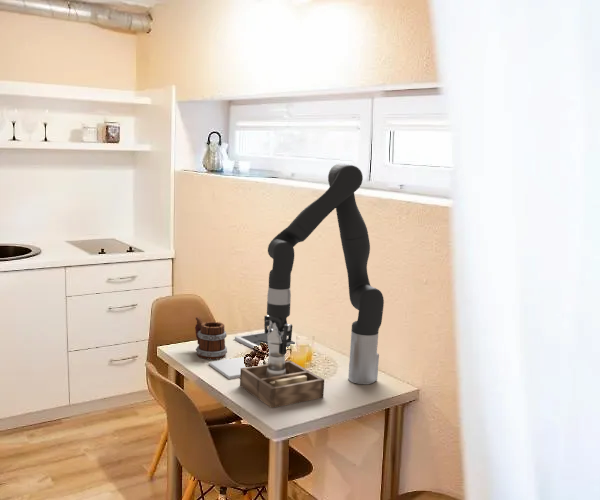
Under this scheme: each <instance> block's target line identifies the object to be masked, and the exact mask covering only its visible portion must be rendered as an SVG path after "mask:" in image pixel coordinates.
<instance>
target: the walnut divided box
mask: <svg viewBox="0 0 600 500" xmlns="http://www.w3.org/2000/svg"><path fill="white" fill-rule="evenodd" d="M267 368H268V363H266V364H262V365H259V366H252V367H246V368H241V373H240V377H239V378H240V379H239V386H240V387H241V388H243V390H245V391H247V392H248V393H250V394H251V395H252V396H254V398H257V399H258V400H260V401H261V402H262V403H264V404H266V405H267V406H268V407H269V408H271V409H274V408H278V407H283V406H284V407H285V406H288V405H293V404H299V403H303V402H308V401H313V400H314V401H315V400H318V399H323V398H324V392H325V391H324V390H325V379H324V378H322V377H321V376H319V375H317V374H315V373H313V372H311V371H310V370H308V369H306V368H305V367H303V366H301V365H299V364H297V363H296V362H294V361H292V360H285V370H286V375H280V376H274V377H268V378H267V377H266V372H267ZM302 375H305V376H307V381H305V382H300V383H294V384H289V385H283V386H278V387H273V386H271V385H270V384H269V382H272V381H275V380H279V379H285V378H290V377H296V376H302Z"/></svg>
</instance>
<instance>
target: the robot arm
mask: <svg viewBox="0 0 600 500" xmlns="http://www.w3.org/2000/svg"><path fill="white" fill-rule="evenodd" d="M327 178H328V179H327V180H328V185H329V188H328V189H327V190H326V191H325V192H324V193H323V194H322V195H320V196H319V197H318V198H317V199H315V200H314V201H313V202H311V203H310V204H309V205H307V206H306V207H305V208H304V209H302V210H301V212H300V213H299V214H297V216H296V217H295V218H294V219H293V220H292V221H291V223H290V224H289V225H288V226H287V227H286V228H284V229H283V230H282V231H280V232H279V233H278V234H276V236H275V237H273V239H272V240H270V243H268V246H267V254H268V255H269V257H270V258H271V259H272V260H273V261H272V268H271V270H270V271H269V273H268V288H267V297H266V299H267V302H266V315H264V319H263V320H264V321H263V322H264V332H265V334H266V333H267V336H268V335H269V334H270V333H271V331H272V330H273V329H272V325H273V324H274V327H275V329H276V333H277V336H278V337H279V341H280V346H279V354H281V355H282V354H285V355H286V353H287V350H286V347H287V343H288V342H291V341H292V335H293V334H292V333H293V324H292V323H291V324H289V323H288V320H287V319H288V317H289V316H290V315H291V302H292V301H291V299H292V298H291V296H292V295H291V281H292V280H291V279H292V277H291V276H292V271H293V266H294V261H295V248H294V247H295V246H297V244H299V243H302V242H304V241H305V240H306V239H308V238H309V236H310V235H311V234H312V233H313V232H314V231H315V230H316V229H317V228H318V226H319V225H320V224H321V223H322V222H323V221H324V220H325V219H326V218H327V217H328V216H329V215H330V214H331V213H332V212H333V211H334V210H336V211H335V212H336V217H337V224H338V229H339V236H340V241H341V246H342V247H341V248H342V251H343V256H344V257H343V258H344V263H345V266H346V272H347V283H348V294H349V300H350V303H351V306H352V307H354V308H355V310H357V311H358V314H357V319H356V320H355V321H353V322H352V323H351V334H350V346H349V347H350V348H349V363H348V364H349V365H348V381H349V382H350V383H354V384H359V385H370V384H373V383H375V382H376V381H378V373H379V361H380V360H379V359H380V355H379V353H378V343H379V342H378V341H379V331H380V328H381V325H382V321H383V314H384V313H383V312H384V306H385V305H384V304H385V300H384V299H385V298H384V295H383V293H382V291H381V290H380V289H378V288H376V287H374V286H372V285H371V283H370V280H369V274H368V261H369V259H370V258H369V257H370V252H371V243H370V237H369V232H368V227H367V224H366V222H365V220H364V218H363V216H362V214H361V212H360V210H359V207H358V205H357V201H356V197H355V195H356V194H355V192H356V191H357V190H358V189H359V188H360V187H361V186H362V183H363V178H364V177H363V173H362V171H361V169H360V168H359V167H358V166H356V165H352V164H347V163H336V164H334V165H332V166H331V168H330V170H329V172H328V175H327ZM283 331H284V332H283ZM280 332H283V333H280ZM282 336H283V339H282Z"/></svg>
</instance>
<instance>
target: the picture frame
mask: <svg viewBox="0 0 600 500" xmlns="http://www.w3.org/2000/svg"><path fill="white" fill-rule="evenodd" d="M234 341H236V342H237V343H238V342H239V343H241V344H242V345H245V346H246V347H248V348H251V349H252V348H253V347H254V346H259V345H260V343H261V342H263V343H266V344H267V345H268V336H267V333H266V334H265V331H260V332H255V333H248V334H240V335H236V336H234ZM290 344H295V341H293V340H291V342H288V343H287V347H289V346H290Z"/></svg>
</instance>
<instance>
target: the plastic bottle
mask: <svg viewBox="0 0 600 500" xmlns="http://www.w3.org/2000/svg"><path fill="white" fill-rule="evenodd" d="M272 329H273V330H272V331H271V333H270V334H269V335H268V349H269V353H268V362H267V364H268V368H267V372H266V377H267V378H268V377H274V376H280V375H286V370H285V361H286V360H285V359H286V354H282V355H281V354H279V346H280V341H279V337H278V336H277V333H276V329H275V327H274V324H273V325H272ZM283 332H284V331H283ZM283 332H280V333H283ZM282 339H283V336H282Z"/></svg>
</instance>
